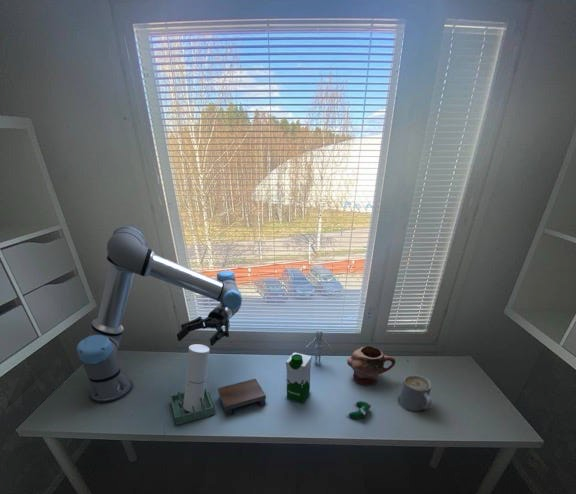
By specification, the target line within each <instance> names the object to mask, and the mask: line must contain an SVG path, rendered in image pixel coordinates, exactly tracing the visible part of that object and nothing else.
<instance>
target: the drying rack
mask: <svg viewBox="0 0 576 494" xmlns="http://www.w3.org/2000/svg"><path fill="white" fill-rule="evenodd" d="M176 392H177V393H174V394H170V395H169V398H170V403H171V408H172V413H173V417H174V420H175V424H176V426H178V425H182V424H184V423H189V422H193V421H196V420H199V419H203V418H206V417H210V416H213V415H215V410H214V406H213V403H212V401H211V398H210V395H209V392H208V390H207V387H206V386H205V391H204V399H203V400H202V397H200V401H201V406H202V409H201V410H199V411H195V409H194V406H192V409H193V412H188V413H186V412H185V411H186V410H185V409H184V407H183V405H184V394H185V391H182V392H180V390H177V391H176Z"/></svg>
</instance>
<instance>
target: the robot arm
mask: <svg viewBox="0 0 576 494" xmlns="http://www.w3.org/2000/svg"><path fill="white" fill-rule="evenodd" d="M106 251H107V256H106V261H107V263H108V264H109V268H108V272H107V277H106V281H105V286H104V289H103V294H102V297H101V302H100V307H99V310H98V315H97V318H95V319H93V320H92V321H91V326H90V330H89V335H88V336H87V337H85V338H84V339H82V340H80V341H79V343H78V344H77V346H76V352H77V356H78V358H79V360H80V362H81V365H82V367H83V369H84V372H85V373H86V376H87V377H88V380H89V395H90V397H91V399H92V400H93V401H94V402H97V403H108V402H113V401H117V400H119V399H121V398H123V397H125V396H126V395H127V394H128V393H129V392H130V390H131V388H132V383H131V381H130V380H129V378H128V377H127V376H126V375H125V374H124V372H122V370H121V368H120V367H121V366H120V364H119V362H118V359H117V357H118V351H119V349H120V345H121V342H122V337H123V333H124V326H123V325H122V322H123V318H124V313H125V310H126V307H127V303H128V299H129V295H130V293H131V292H130V291H131V288H132V284H133V280H134V276H135V274H136V275H138V276H141V277H144V278H146V277H149V276H150V277H152V278H156V279H157V280H161V281H162V282H166V283H168V284H171V285H174V286H177V287H178V288H179V287H180V288H181V289H185V290H186V291H190V292H193V293H195V294H198V295H201V296H203V297H206V298H209V299H211V300H214V301H217V302H219V304H217V306H215V307H214V308H213V309H212V310H211V311H210V312H209V313H208V315H207V317H205V318H202V316H198V317H197V318H194V319H192V320H189V321H186V322H184V323H181V324H180V327H181V329H180V330H179V332H178V333H177V334H176V336H177V337H176V338H177V341H178V342H181V341H182V340H183V339H184V338H185V337H186V336H187V335H189V334H190V332H193V331H196V330H197V331H198V330H201V329H203V330H204V329H215V330H216V332H215V333H214V334H213V335H212V336H211V337H210V338H209V344H210V346H212V347H213V346H214V345H215V344H216V343H217V342H218V341H221V339H223V338H224V337H226V338H229V337H230V331H229V328H230V327H231V325H230V319H232V318H233V317H234V315H235V314H236V313H238V312H239V310H240V309H241V307H242V303H243V297H242V293H241V291H240V289H239V288H238V285H237V282H236V275H235V272H234V271H232V270H222V271H218V272H217V273H216V278H213V277H211V276H208V275H206V274H203V273H201V272H199V271H196V270H194V269H192V268H189V267H187V266H184V265H182V264H179V263H177V262H175V261H172V260H170V259H167V258H166V257H162V256H160V255H157V254H156V253H155V251H154V250H153V249H151V248H148V246H147V240H146V237H145V236H144V234H143V233H142V232H141V231H140V230H139V229H137V228H135V227H132V226H129V225H128V226H127V225H126V226H125V225H124V226H120V227H118V228H116V229H115V230H114V231H113V232H112V235H111V236H110V237H109V239H108V241H107V244H106ZM223 327H224V328H223Z"/></svg>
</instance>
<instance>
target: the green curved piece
mask: <svg viewBox="0 0 576 494" xmlns="http://www.w3.org/2000/svg"><path fill="white" fill-rule="evenodd" d="M355 404H356V406H357V407H358V408H359V410H357V411H351V412H349V413H348V417H349V418H353V419H362V418H364V417H365V416H366V415H367V414H368V412H369V411H370V409H371V407H372V404H371V402H369V401H368V400H367V401H362V400H359V401H357V402H356V403H355Z"/></svg>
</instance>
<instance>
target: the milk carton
mask: <svg viewBox="0 0 576 494" xmlns="http://www.w3.org/2000/svg"><path fill="white" fill-rule="evenodd" d="M312 359H313V356H312V355H308V354H304V353H299V352H293V353H292V354H290V356H289V357H288V358H287V360H286V361H285V367H286V399H287V400H290V401H294V402H298V403H301V404H303V403H305V400H306V399H307V397H308V396H309V395H310V390H311V372H312V371H311V368H312Z"/></svg>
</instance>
